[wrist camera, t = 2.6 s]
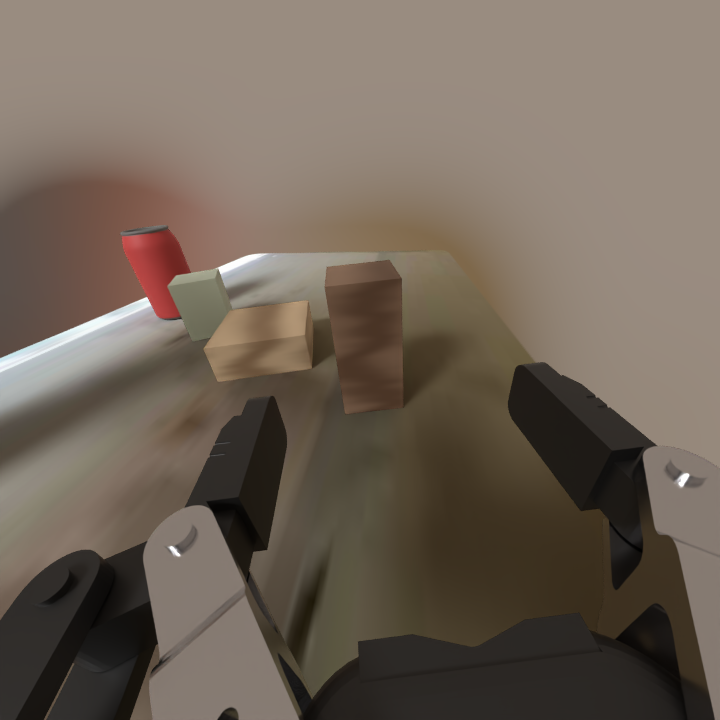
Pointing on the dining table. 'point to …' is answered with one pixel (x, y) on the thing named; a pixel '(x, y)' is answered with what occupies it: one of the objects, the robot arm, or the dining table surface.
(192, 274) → the sage green block
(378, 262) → the walnut pillar
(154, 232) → the beer can
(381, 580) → the dining table surface
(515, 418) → the robot arm
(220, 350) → the oak base block
